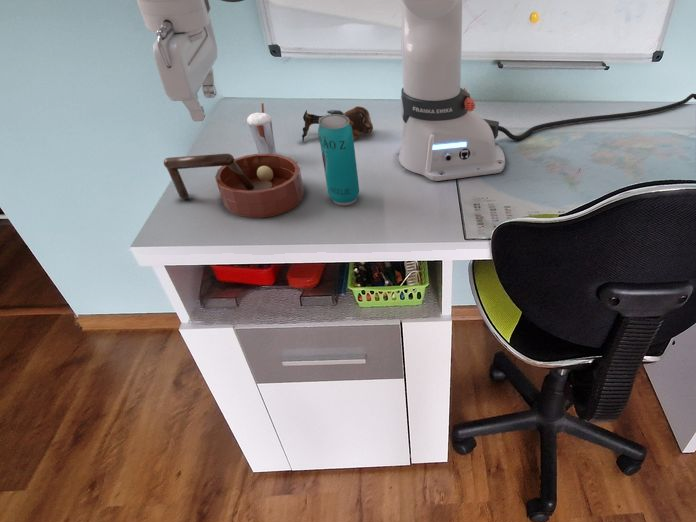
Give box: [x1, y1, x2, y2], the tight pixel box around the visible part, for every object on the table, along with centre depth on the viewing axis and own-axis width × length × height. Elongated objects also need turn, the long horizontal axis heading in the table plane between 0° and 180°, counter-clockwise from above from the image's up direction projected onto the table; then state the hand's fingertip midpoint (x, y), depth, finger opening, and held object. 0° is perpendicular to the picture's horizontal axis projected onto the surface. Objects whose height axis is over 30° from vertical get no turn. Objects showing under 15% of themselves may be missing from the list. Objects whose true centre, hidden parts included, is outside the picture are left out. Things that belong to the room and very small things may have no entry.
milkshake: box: [246, 102, 277, 154], centre depth 109 cm, size 4×5×10 cm
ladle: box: [163, 153, 273, 201], centre depth 98 cm, size 17×4×8 cm, turn 97°
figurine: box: [301, 106, 374, 143], centre depth 119 cm, size 8×16×6 cm, turn 98°
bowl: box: [214, 153, 305, 219], centre depth 100 cm, size 15×15×5 cm
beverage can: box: [317, 114, 360, 207], centre depth 96 cm, size 6×6×15 cm
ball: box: [257, 166, 273, 181], centre depth 103 cm, size 3×3×3 cm
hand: (205, 107), depth 89 cm, fingers open, 8 cm apart
